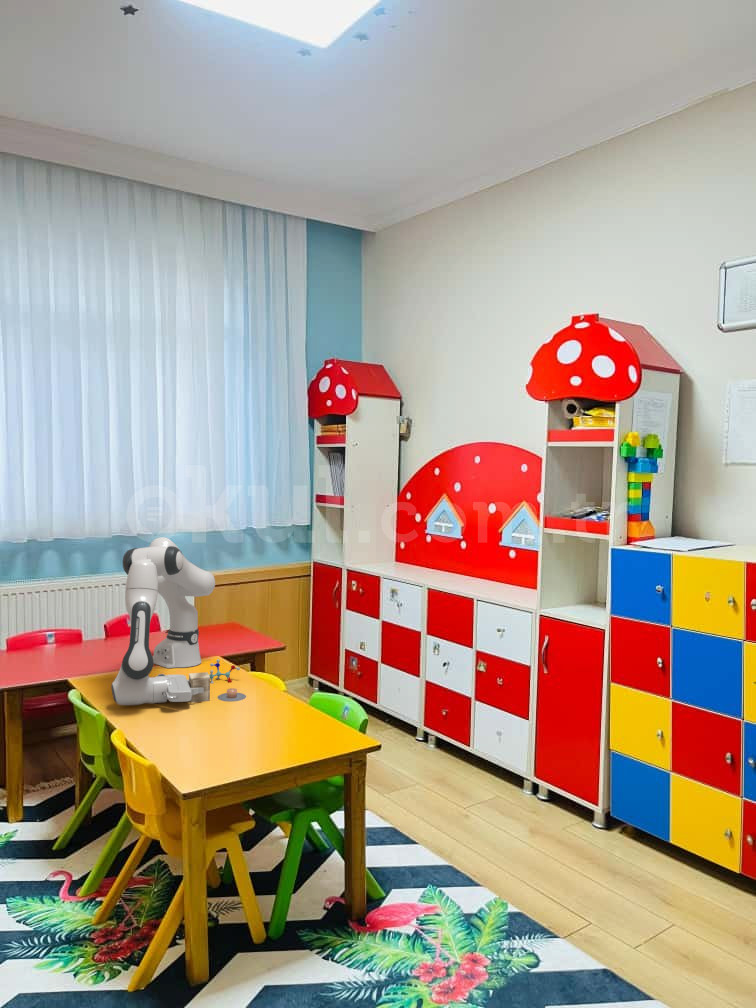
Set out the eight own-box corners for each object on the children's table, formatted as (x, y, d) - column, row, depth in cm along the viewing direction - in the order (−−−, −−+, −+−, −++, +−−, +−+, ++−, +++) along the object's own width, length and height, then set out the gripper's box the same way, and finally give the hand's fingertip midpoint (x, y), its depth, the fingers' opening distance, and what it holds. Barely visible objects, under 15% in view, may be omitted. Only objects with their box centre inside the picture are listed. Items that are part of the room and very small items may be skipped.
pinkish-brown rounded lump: (224, 697, 278) (224, 690, 278) (231, 694, 281) (231, 687, 281) (232, 699, 276) (232, 692, 276) (239, 696, 279) (239, 689, 279)
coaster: (211, 699, 277) (211, 698, 277) (230, 692, 285) (230, 690, 285) (233, 704, 272) (233, 703, 272) (251, 697, 280) (251, 695, 280)
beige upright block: (191, 704, 271) (191, 678, 271) (188, 698, 277) (189, 673, 277) (209, 702, 274) (209, 677, 273) (207, 696, 280) (207, 672, 279)
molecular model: (211, 679, 289) (213, 653, 294) (200, 686, 295) (203, 660, 300) (239, 684, 294) (241, 658, 299) (228, 691, 301) (230, 666, 306)
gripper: (163, 689, 261) (206, 686, 266) (158, 672, 280) (198, 669, 285) (163, 708, 261) (205, 704, 266) (158, 689, 280) (198, 686, 285)
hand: (201, 686), depth 276 cm, fingers closed on beige upright block, 6 cm apart
